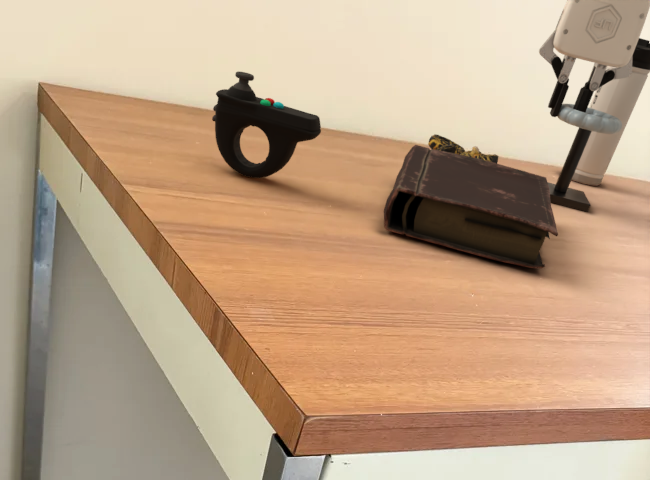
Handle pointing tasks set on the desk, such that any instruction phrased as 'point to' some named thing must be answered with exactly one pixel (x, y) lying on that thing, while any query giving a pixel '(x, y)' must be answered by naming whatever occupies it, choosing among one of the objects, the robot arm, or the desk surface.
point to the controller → (271, 117)
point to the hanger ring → (590, 119)
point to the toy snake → (458, 148)
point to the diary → (471, 206)
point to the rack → (571, 176)
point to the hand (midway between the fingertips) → (563, 116)
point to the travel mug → (616, 102)
